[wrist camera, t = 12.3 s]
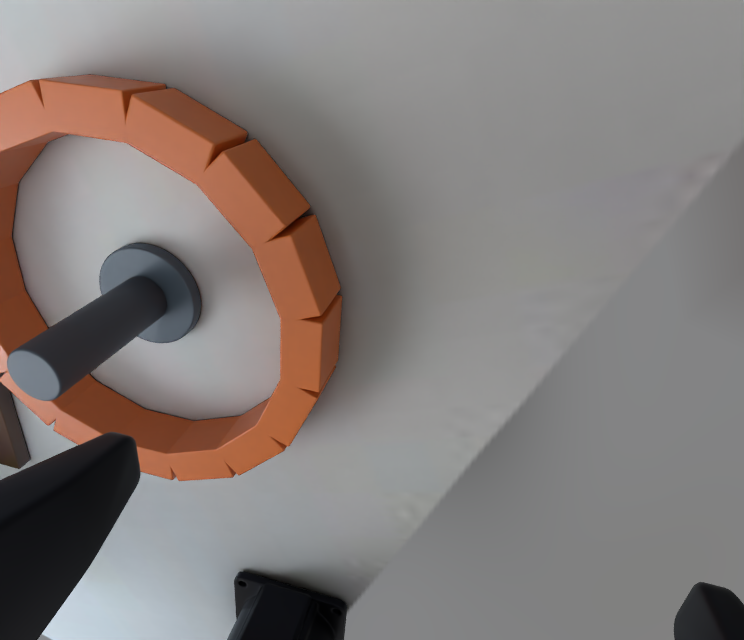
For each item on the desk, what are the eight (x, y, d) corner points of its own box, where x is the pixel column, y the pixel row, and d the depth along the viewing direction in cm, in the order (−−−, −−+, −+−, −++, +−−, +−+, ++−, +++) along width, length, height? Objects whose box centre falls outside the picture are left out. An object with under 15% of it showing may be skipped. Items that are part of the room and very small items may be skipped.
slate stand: (205, 345, 24) (104, 444, 18) (116, 326, 24) (-7, 414, 19) (197, 252, 21) (81, 330, 16) (100, 234, 22) (-45, 302, 17)
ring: (330, 479, 25) (313, 518, 23) (30, 403, 28) (-9, 432, 26) (355, 108, 17) (332, 118, 15) (-69, 53, 20) (-136, 55, 18)
